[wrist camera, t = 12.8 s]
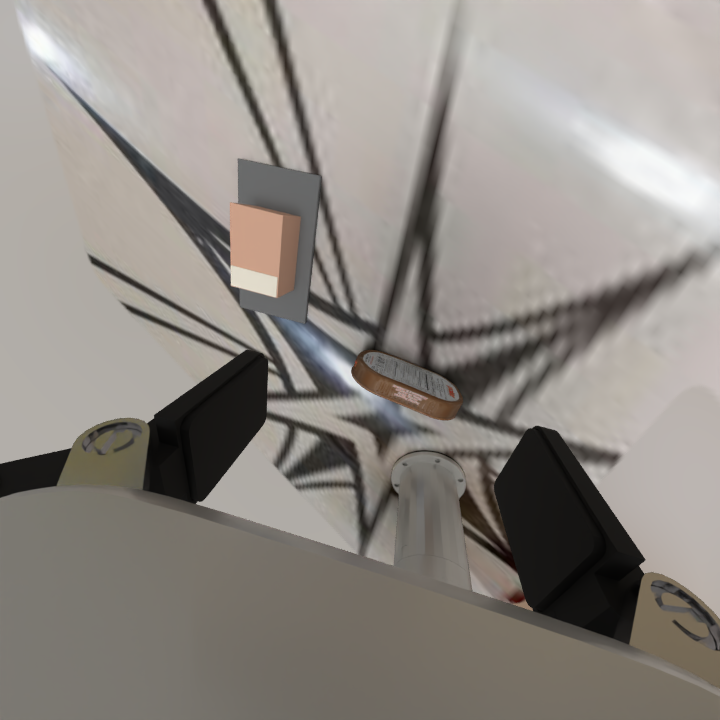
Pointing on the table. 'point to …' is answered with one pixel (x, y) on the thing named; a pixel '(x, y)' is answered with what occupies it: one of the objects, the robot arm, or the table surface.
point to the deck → (263, 249)
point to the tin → (407, 384)
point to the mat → (300, 199)
